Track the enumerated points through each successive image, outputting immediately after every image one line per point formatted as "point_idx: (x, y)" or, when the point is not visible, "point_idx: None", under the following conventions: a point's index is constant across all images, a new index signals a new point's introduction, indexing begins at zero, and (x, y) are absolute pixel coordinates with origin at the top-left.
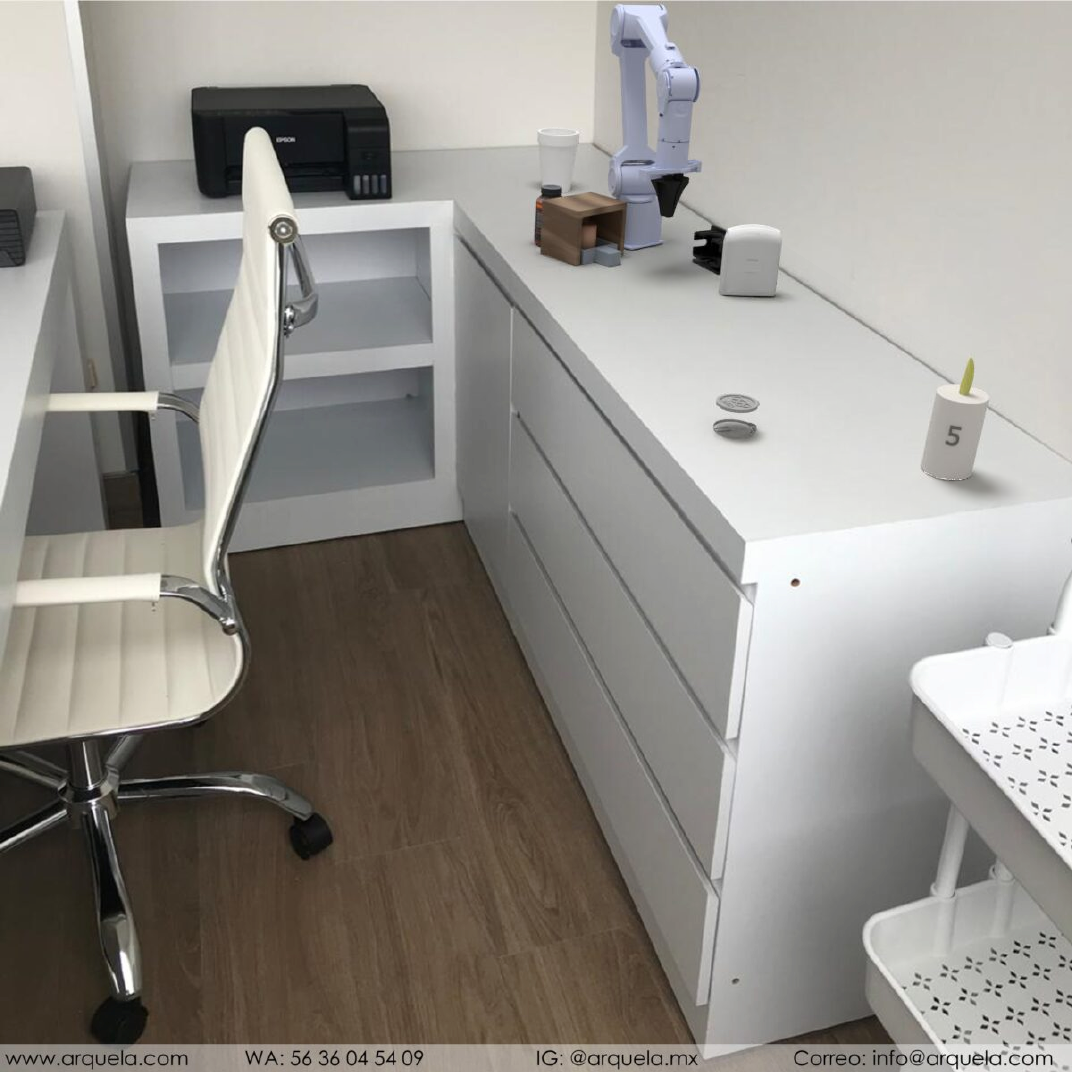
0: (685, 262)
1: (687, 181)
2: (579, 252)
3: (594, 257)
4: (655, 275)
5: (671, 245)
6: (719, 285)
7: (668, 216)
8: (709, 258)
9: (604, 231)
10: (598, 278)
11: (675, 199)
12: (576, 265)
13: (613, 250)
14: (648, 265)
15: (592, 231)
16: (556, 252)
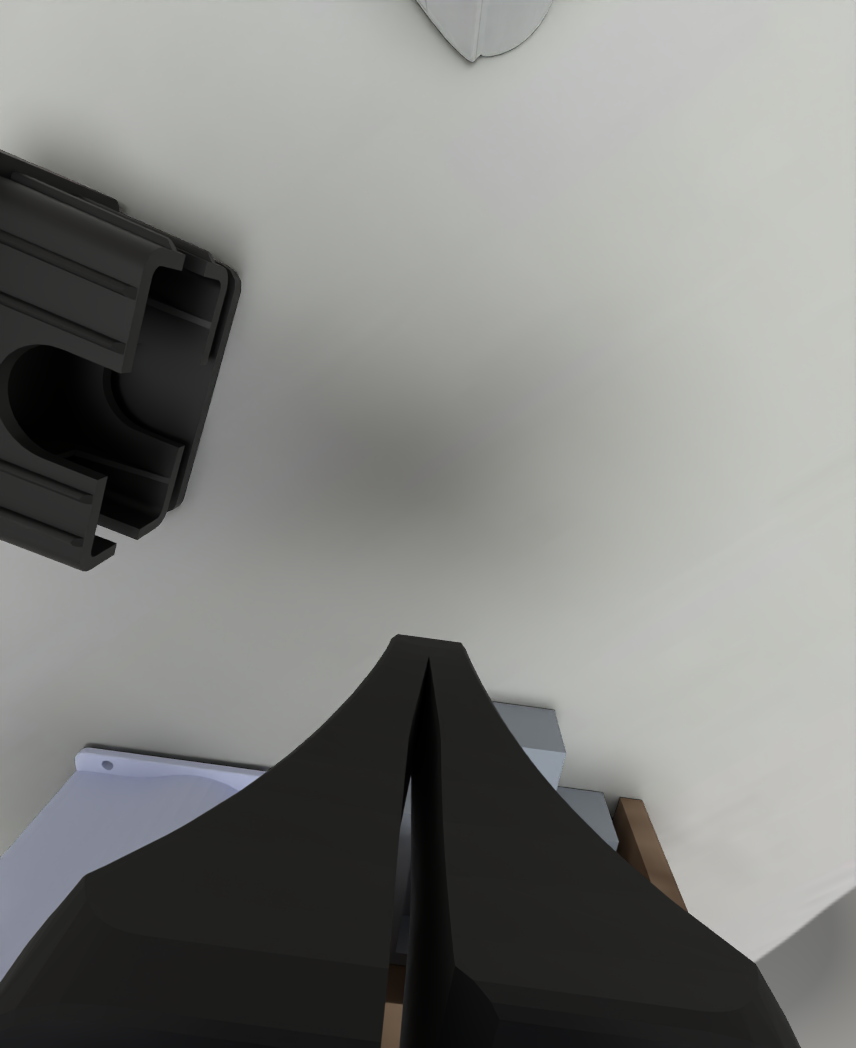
0: (214, 526)
1: (150, 921)
2: (641, 846)
3: None
4: (508, 503)
5: (69, 710)
6: (544, 4)
7: (465, 649)
8: (129, 422)
9: None
10: (737, 651)
11: (406, 736)
12: (637, 801)
13: None
14: (397, 614)
15: None
16: None
